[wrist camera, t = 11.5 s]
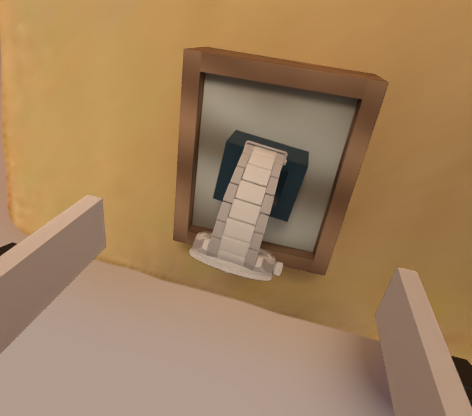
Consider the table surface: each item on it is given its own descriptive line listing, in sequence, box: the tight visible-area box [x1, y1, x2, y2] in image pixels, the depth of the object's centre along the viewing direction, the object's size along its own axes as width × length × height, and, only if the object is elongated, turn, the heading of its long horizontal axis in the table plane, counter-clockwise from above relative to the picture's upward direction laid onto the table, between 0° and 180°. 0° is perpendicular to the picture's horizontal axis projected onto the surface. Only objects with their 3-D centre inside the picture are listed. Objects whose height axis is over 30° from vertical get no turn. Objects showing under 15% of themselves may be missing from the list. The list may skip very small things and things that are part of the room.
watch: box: [189, 130, 309, 281], centre depth 21 cm, size 6×8×11 cm
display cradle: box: [173, 47, 389, 276], centre depth 27 cm, size 15×13×5 cm
